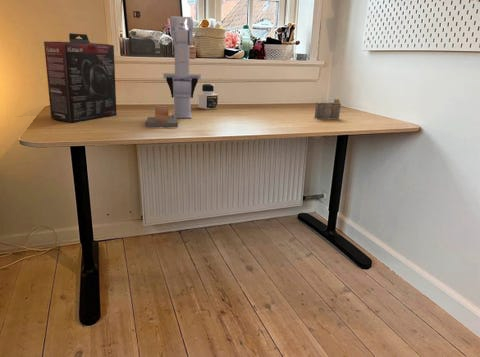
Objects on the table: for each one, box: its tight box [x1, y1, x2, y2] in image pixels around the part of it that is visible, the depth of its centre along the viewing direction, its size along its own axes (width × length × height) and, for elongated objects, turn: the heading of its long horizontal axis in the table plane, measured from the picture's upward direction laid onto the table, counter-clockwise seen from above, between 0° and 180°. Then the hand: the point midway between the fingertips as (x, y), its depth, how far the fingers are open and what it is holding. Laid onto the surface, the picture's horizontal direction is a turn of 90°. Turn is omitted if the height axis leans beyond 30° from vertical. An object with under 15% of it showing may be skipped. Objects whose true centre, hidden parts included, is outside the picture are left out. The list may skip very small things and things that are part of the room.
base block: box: [145, 116, 179, 128], centre depth 154 cm, size 12×12×2 cm
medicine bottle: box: [198, 83, 219, 110], centre depth 196 cm, size 7×7×12 cm
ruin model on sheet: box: [314, 98, 341, 119], centre depth 183 cm, size 11×3×10 cm, turn 102°
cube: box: [154, 105, 169, 121], centre depth 152 cm, size 5×5×5 cm
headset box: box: [43, 32, 117, 123], centre depth 156 cm, size 24×13×33 cm, turn 152°
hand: (182, 97), depth 155 cm, fingers open, 7 cm apart
